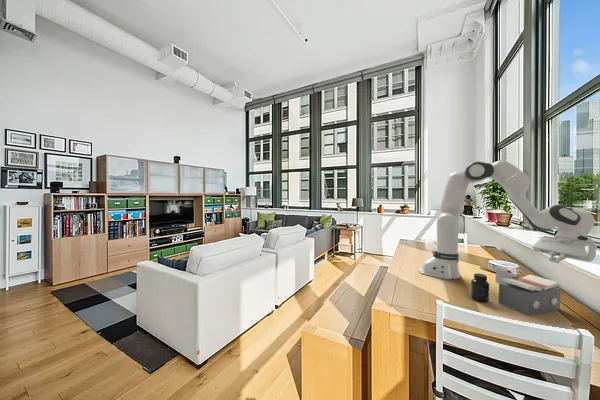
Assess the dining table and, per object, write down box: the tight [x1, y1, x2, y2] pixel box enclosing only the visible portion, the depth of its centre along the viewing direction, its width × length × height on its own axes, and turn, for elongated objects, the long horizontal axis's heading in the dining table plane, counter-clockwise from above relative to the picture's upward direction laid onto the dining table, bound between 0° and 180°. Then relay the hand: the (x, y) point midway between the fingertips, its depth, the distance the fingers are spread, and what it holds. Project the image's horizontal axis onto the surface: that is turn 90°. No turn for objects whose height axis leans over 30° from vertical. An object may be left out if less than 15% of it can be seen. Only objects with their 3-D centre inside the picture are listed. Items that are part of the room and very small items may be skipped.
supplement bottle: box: [470, 273, 490, 304], centre depth 109 cm, size 7×7×12 cm
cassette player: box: [495, 265, 520, 285], centre depth 124 cm, size 16×3×10 cm, turn 163°
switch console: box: [498, 283, 562, 316], centre depth 103 cm, size 20×12×9 cm, turn 105°
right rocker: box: [518, 274, 559, 290], centre depth 105 cm, size 8×10×2 cm
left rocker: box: [502, 278, 542, 291], centre depth 102 cm, size 8×10×2 cm
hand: (553, 261), depth 107 cm, fingers closed
